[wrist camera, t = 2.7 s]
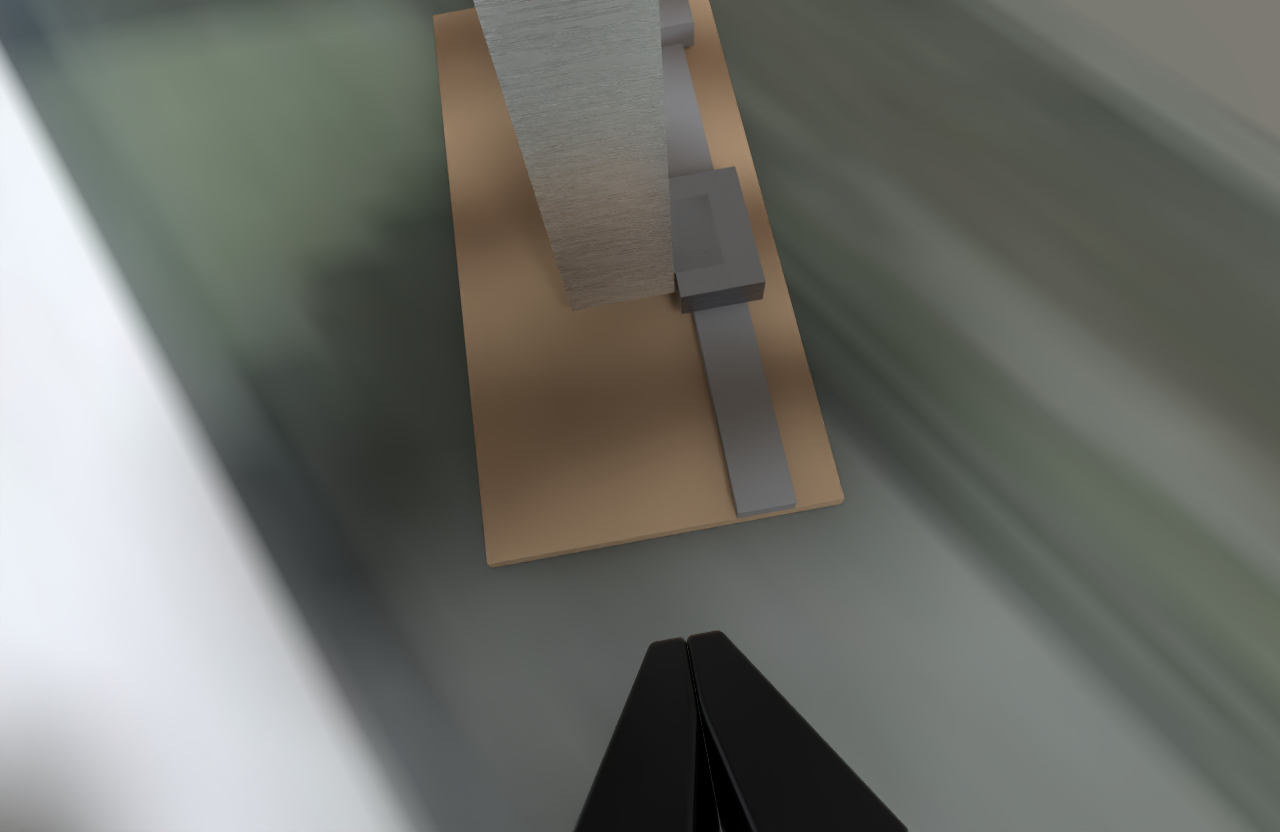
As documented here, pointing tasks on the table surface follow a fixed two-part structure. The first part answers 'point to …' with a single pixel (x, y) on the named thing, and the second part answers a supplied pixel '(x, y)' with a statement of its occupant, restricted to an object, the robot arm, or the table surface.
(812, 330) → the table surface
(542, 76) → the sliding leg
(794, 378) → the bolt board
